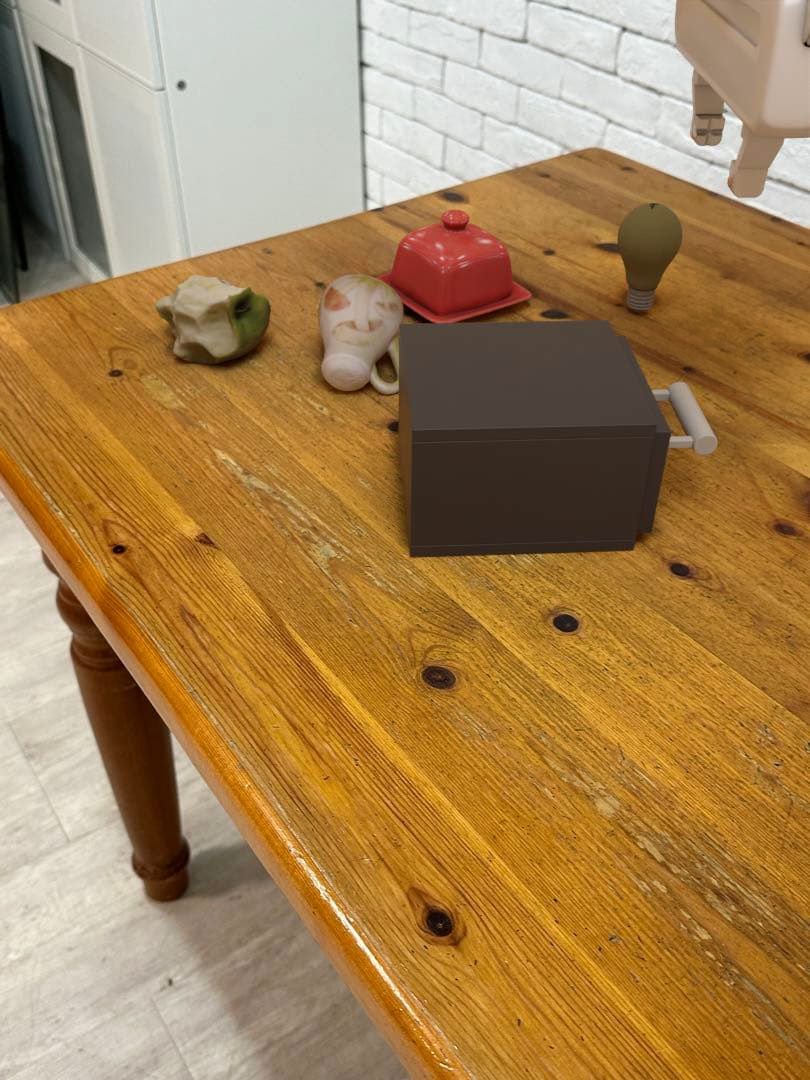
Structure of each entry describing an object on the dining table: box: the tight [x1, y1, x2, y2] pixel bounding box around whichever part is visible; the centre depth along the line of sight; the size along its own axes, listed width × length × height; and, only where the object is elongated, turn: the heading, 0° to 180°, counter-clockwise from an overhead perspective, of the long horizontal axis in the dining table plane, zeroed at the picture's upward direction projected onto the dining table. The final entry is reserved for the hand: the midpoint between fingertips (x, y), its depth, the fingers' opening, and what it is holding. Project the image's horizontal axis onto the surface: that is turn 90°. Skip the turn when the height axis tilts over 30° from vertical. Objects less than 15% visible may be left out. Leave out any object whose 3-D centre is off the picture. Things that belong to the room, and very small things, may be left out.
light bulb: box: [616, 202, 683, 314], centre depth 94 cm, size 6×6×10 cm
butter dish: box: [375, 209, 533, 323], centre depth 95 cm, size 12×12×8 cm
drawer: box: [616, 335, 719, 534], centre depth 71 cm, size 18×13×8 cm
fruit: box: [154, 274, 272, 365], centre depth 88 cm, size 9×9×8 cm
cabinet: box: [397, 319, 657, 558], centre depth 71 cm, size 15×14×10 cm
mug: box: [317, 273, 405, 395], centre depth 86 cm, size 8×10×10 cm
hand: (722, 166), depth 66 cm, fingers open, 8 cm apart
